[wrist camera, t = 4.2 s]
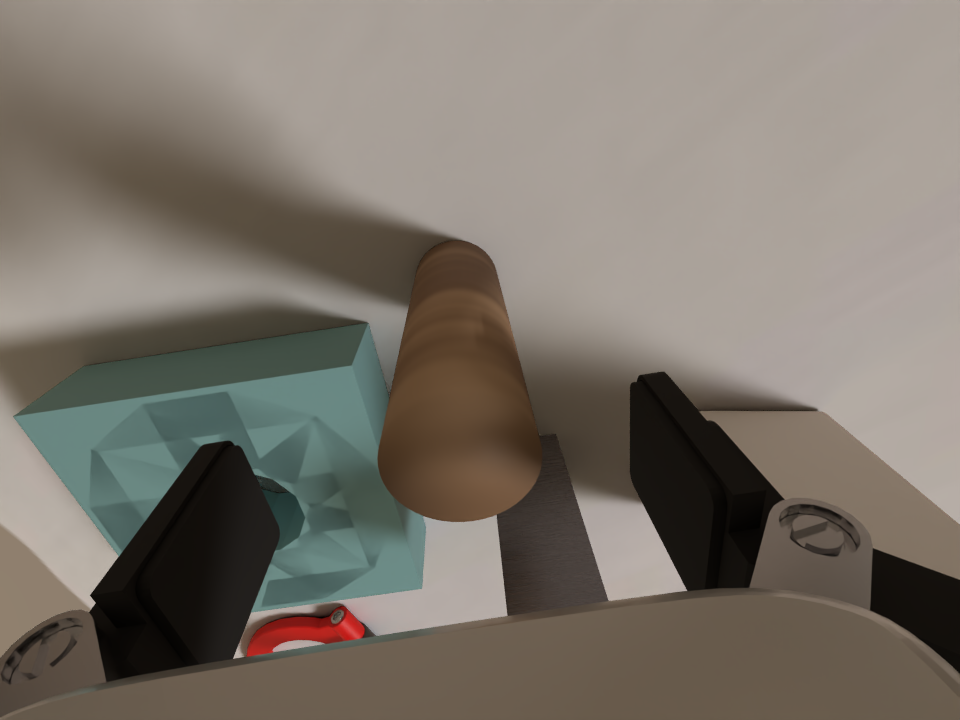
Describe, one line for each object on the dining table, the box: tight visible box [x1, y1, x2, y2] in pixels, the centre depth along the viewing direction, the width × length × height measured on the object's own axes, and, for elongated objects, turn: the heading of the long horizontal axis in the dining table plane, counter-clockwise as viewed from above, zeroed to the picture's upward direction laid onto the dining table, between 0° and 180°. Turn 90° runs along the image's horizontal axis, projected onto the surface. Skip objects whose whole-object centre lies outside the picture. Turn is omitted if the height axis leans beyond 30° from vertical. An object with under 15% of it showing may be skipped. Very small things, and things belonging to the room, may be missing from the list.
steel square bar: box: [497, 434, 608, 616], centre depth 21 cm, size 4×4×12 cm
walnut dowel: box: [377, 241, 542, 522], centre depth 16 cm, size 4×4×12 cm
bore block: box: [13, 323, 426, 612], centre depth 23 cm, size 13×13×4 cm
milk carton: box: [699, 411, 960, 580], centre depth 18 cm, size 7×7×19 cm
